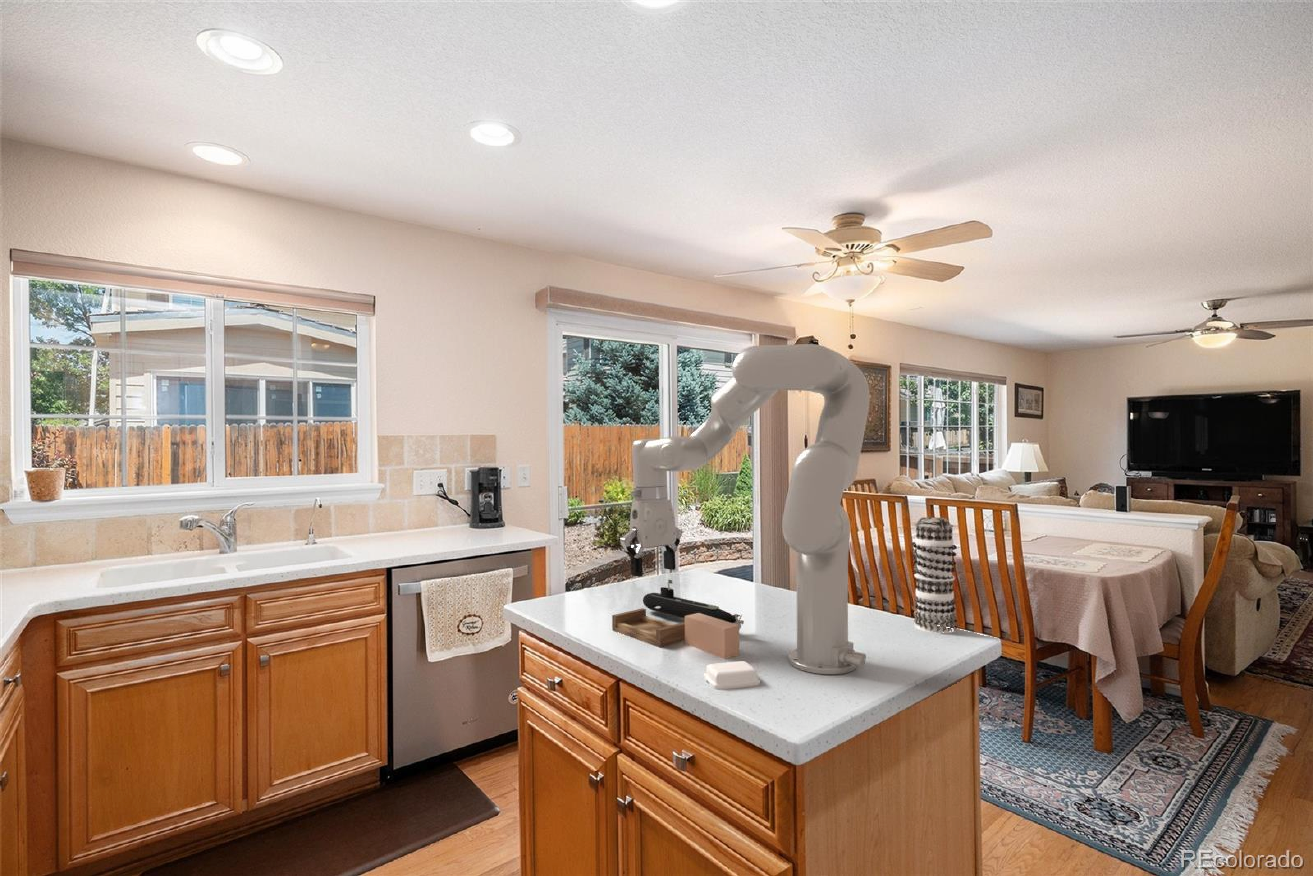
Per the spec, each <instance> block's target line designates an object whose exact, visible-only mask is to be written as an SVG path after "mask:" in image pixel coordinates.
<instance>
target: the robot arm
mask: <svg viewBox="0 0 1313 876" xmlns="http://www.w3.org/2000/svg"><path fill="white" fill-rule="evenodd" d="M731 372H732V376H731V377H730V378H729V379H728V380H727V381H726V382H725V383H724V384H722V385H721V387H720V388H719V389H717V390H716V391H715V392H714V393H713V394H712V395H711V397H710V405H711V409H710V410H711V411H710V413H709V415H708V416H707V418H706V420H705V421H704V422H703V423H702V424H701V425H700V426H699V427H698V428H697V429H695V431H694V432H693V433H691V434H690V435H689V436H688V435H687V436H686V435H683V436H682V435H680V436H674V435H673V436H667V437H663V438H645V439H636V440H634V441H633V443H632V445H631V456H632V482H633V486H632V487H633V490H632V491H631V492H630V497H632V498H633V501H632V502H631V503H632V504H631V510H630V519H629V531H628V532H627V533H625V534H624V535H623V536H622V537H620V539H619V542H620V544H621V546H622V548H623V551H624V553H625V554H627V557H628V558H629V559H630V560H629V561H630V574H631V576H632V577H638V578H639V577H641V578H642V577H643V575H644V572H643V559H642V557H641V555H642V553H643V551H644V550H645V549H654V548H660V547H662V548H664V550H663V551H662V552H663V553H662V554H663V568H664V569H666V570H668V571H669V570H670V571H674V570H676V552H677V551H678V546H679V545H680V543H681V538H682V535H683V531H682V529H680V528H678V527H676V521H675V515H674V509H673V505H672V501H671V499H669V498H668V497H669V494H668V492H669V491H668V473H667V472H675V473H677V472H685V471H696V470H699V469H700V468H702V467H704V466H705V465H706V464H708V463H709V462H710V461H712V460H713V459H714V458H715V457H716V456H717V455H718V454H719V453H720V452H722V450H724V448H726V446H728V444H729V443H730V441H732V439H733V437H734V436H735V435H736V433H737V432H738V431H739V428H740V427H741V425H743V424H744V422H745V421H747V420H748V419H749V418H750V417H752V415H754V414H755V413H756V411H758V410H759V409H760V408H762V406H763V405H764V404H766V403H767V402H768V401H769V400H770V399H771V398H772V397H773V396H775V394H777V393H778V392H779V391H802V392H803V391H804V392H812V393H816V394H820V395H822V396H823V399H824V402H823V407H822V410H821V412H820V416H819V421H818V426H817V430H816V431H817V432H816V435H815V440H814V443H813V444H811V445H808V446H807V447H805V448H804V449H803V450H802V451H801V452H800V453H799V454H798V455H797V458H796V460H795V462H794V464H793V467H792V471H791V475H790V480H789V484H788V491H787V495H786V499H785V503H784V509H783V514H782V521H781V529H782V530H781V531H782V535H783V538H784V540H785V542H786V544H787V545H788V546H789V548H791V549H792V550H793V551H794V552H796V553H797V555H796V557H797V559H796V580H795V581H796V649H794V650H792V651H791V652H790V653H789V654H788V663H789V664H790V665H791V666H792V667H795V669H798V670H801V671H804V672H807V673H812V674H818V675H827V676H828V675H830V676H831V675H842V674H843V675H844V674H848V673H851V672H852V671H855V670H856V669H857V667H858V668H864V667H865V665H866V663H867V662H866V659H867V655H866V653H864V652H859V651H855V649H854V642H852V641H850V640H849V622H848V621H849V606H848V605H849V602H848V601H849V599H848V598H849V597H848V596H849V595H848V594H849V593H848V591H849V589H848V587H849V586H848V585H849V573H848V572H849V550H850V538H851V536H850V535H851V523H850V518H849V515H848V513H847V511H846V510H845V508H844V506H842V503H841V502H842V497H843V493H844V491H845V490H847V489H849V488H850V487H851V486H852V485H853V483H854V482H855V480H856V478H857V474H858V469H859V463H860V462H859V461H860V456H861V452H862V447H863V441H864V438H865V437H864V436H865V430H866V425H867V420H868V414H869V409H870V402H871V401H870V389H869V383H868V380H867V379H866V376H865V374H864V372H863V371H862V370H861V369H860V368H859V367H858V366H857V364H855V363H854V362H853V361H851V360H850V359H848V357H846V356H844V355H842V353H839V352H837V351H835V350H833V349H831V348H829V347H827V346H824V345H820V344H814V343H802V344H798V343H797V344H775V345H774V344H773V345H772V344H771V345H769V344H768V345H766V344H765V345H763V344H762V345H752V346H748V347H747V348H744V349H743V350H741V351H740V352H739V353H738V354H737V355H736V357H734V361H733V363H732V369H731Z"/></svg>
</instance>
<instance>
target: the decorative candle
mask: <svg viewBox="0 0 1313 876" xmlns="http://www.w3.org/2000/svg"><path fill="white" fill-rule="evenodd" d="M913 525H914V526H915V538H914V541H913V542H911V545H912V547H913V548H914V549H913V551H912V552H911V553H912V555H913V556H914V557H913V558H912V561H913V563H914V567H913V568H912V569H913V570H914V575H913V576H914V578H915V579H916V582H915V583H916V588H915V596H914V597H913V598H914V601H915V602H916V603H914V605H913V606H914V608H915V610H914V612H913V615H914V616H915V618H914V620H913V621H914V623H915V625H914V628H917V629H916V630H919V631H921V632H924V633H929V632H936V633H943V632H944V633H948V634H952V629H951V628H954V629H955V626H956V625H957V624H956V622H955V620H956V619H957V616H956V615H955V613H954V612H955V611H956V608H955V606H954V605H955V604H956V600H955V599H954V598H955V594H954V593H955V591H954V587H953V586H954V583H953V582H954V581H955V580H956V577H955V576H954V575H953V573H955V572H956V571H957V569H956V568H954V567H955V565H956V564H957V561H955V560H954V559H953V558H954V557H956V556H957V555H958V554H957V553H956V551H955V550H956V549H958V547H957V545H955V544H954V538H953V527H954V525H952V524H951V522H950V521H949V520H948V519H947V518H944V517H935V516H934V517H930V516H929V517H928V516H927V517H925V516H924V517H921V518H919V519H918V521H917V523H914V524H913ZM937 625H940V626H937ZM946 627H950V628H946ZM949 631H951V632H949ZM955 632H956V630H955V631H953V633H955ZM936 633H935V634H936Z"/></svg>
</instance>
